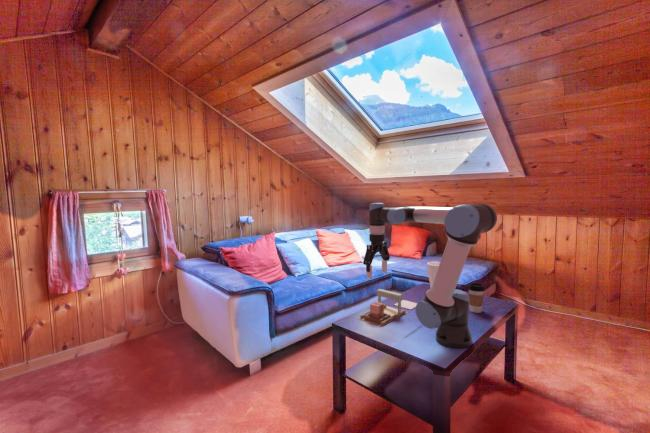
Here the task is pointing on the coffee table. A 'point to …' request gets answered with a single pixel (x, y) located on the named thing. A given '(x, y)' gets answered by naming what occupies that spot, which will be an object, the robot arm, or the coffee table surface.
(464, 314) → the robot arm
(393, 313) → the puzzle board
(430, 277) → the cup
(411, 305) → the mat
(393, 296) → the cover bar
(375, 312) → the block
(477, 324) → the coffee table surface
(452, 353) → the coffee table surface
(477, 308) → the coffee cup
